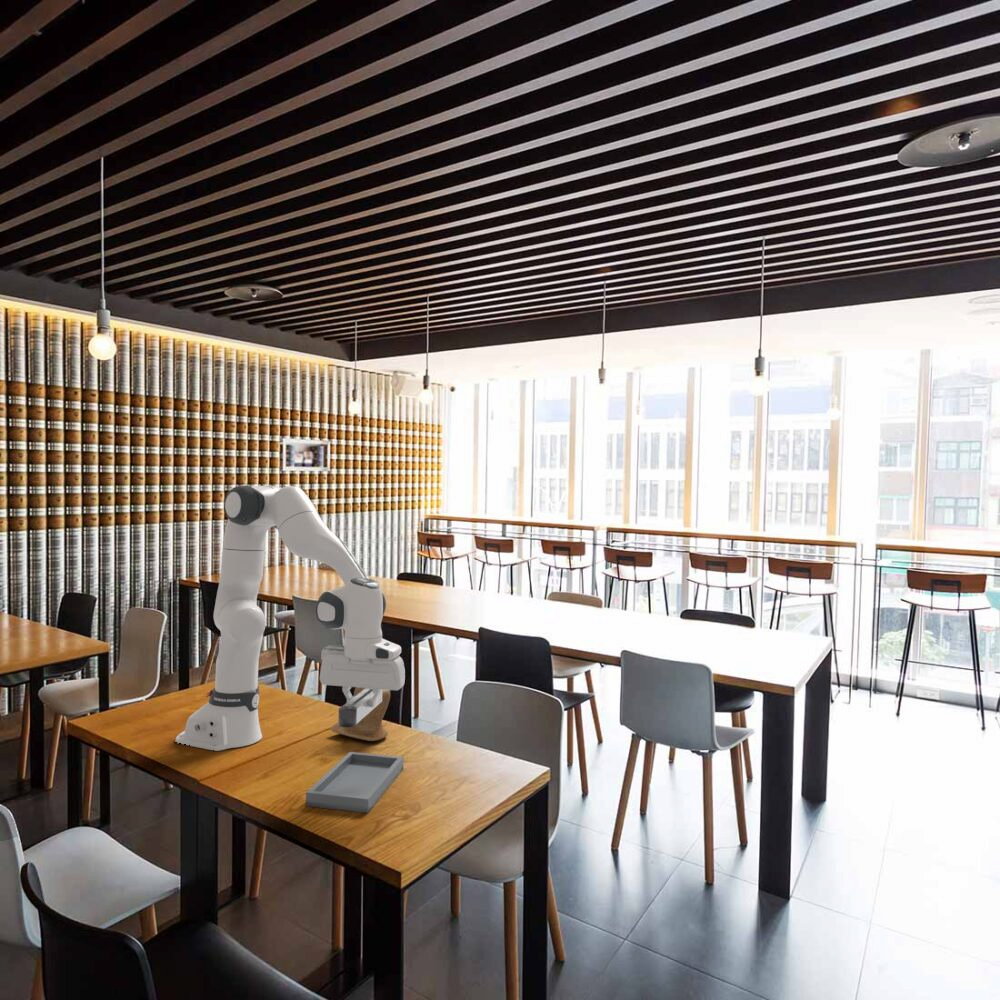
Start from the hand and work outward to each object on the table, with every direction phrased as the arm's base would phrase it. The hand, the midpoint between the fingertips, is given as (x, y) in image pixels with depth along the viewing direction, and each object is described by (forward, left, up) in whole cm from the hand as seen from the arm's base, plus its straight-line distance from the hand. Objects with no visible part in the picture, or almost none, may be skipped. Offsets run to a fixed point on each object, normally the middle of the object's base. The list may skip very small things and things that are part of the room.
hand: (361, 705), depth 163 cm
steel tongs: (0, 0, -2) cm, 2 cm away
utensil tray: (0, -1, -19) cm, 19 cm away
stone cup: (-11, +32, -19) cm, 39 cm away
